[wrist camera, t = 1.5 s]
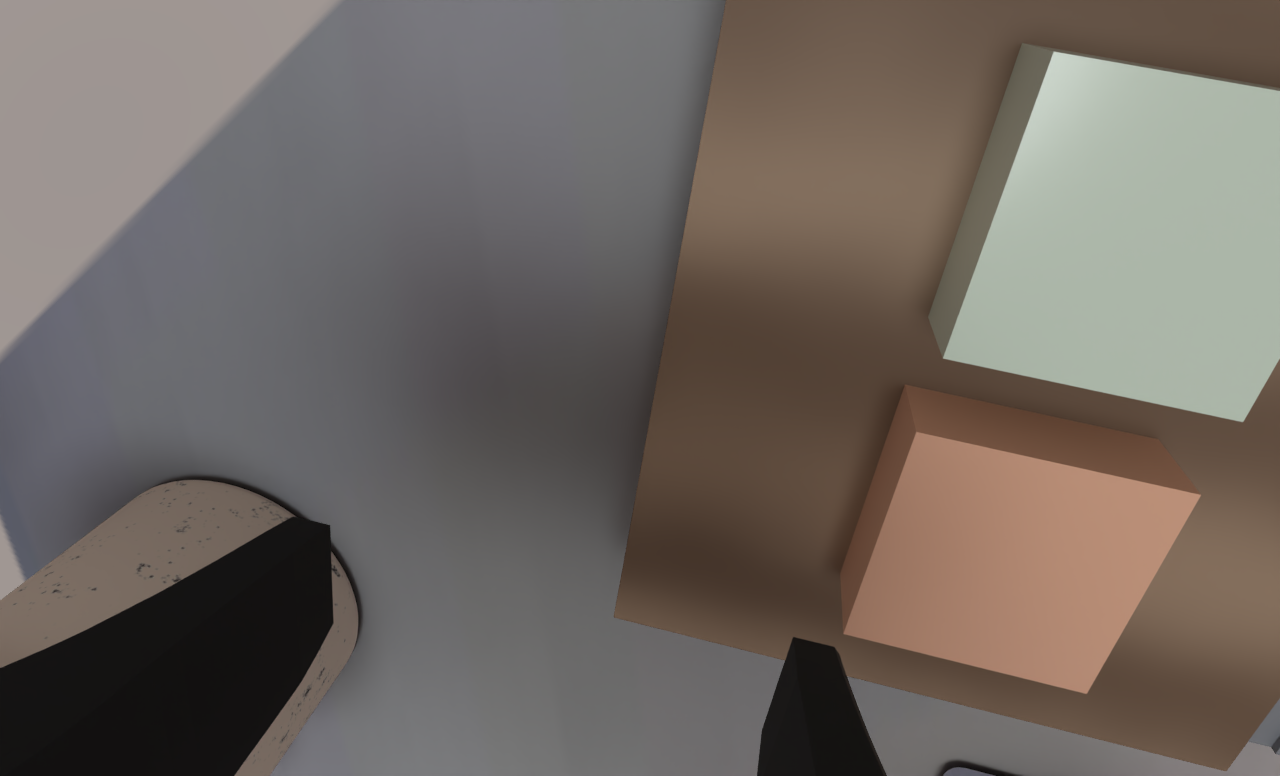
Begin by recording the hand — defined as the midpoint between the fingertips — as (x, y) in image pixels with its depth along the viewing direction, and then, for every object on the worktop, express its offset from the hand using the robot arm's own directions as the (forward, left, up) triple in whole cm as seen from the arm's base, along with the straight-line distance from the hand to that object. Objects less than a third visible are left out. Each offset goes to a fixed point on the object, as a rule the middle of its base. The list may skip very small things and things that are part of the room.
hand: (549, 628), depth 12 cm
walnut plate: (+2, -8, -10) cm, 13 cm away
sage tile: (+6, -8, -7) cm, 12 cm away
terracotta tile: (0, -8, -7) cm, 10 cm away
